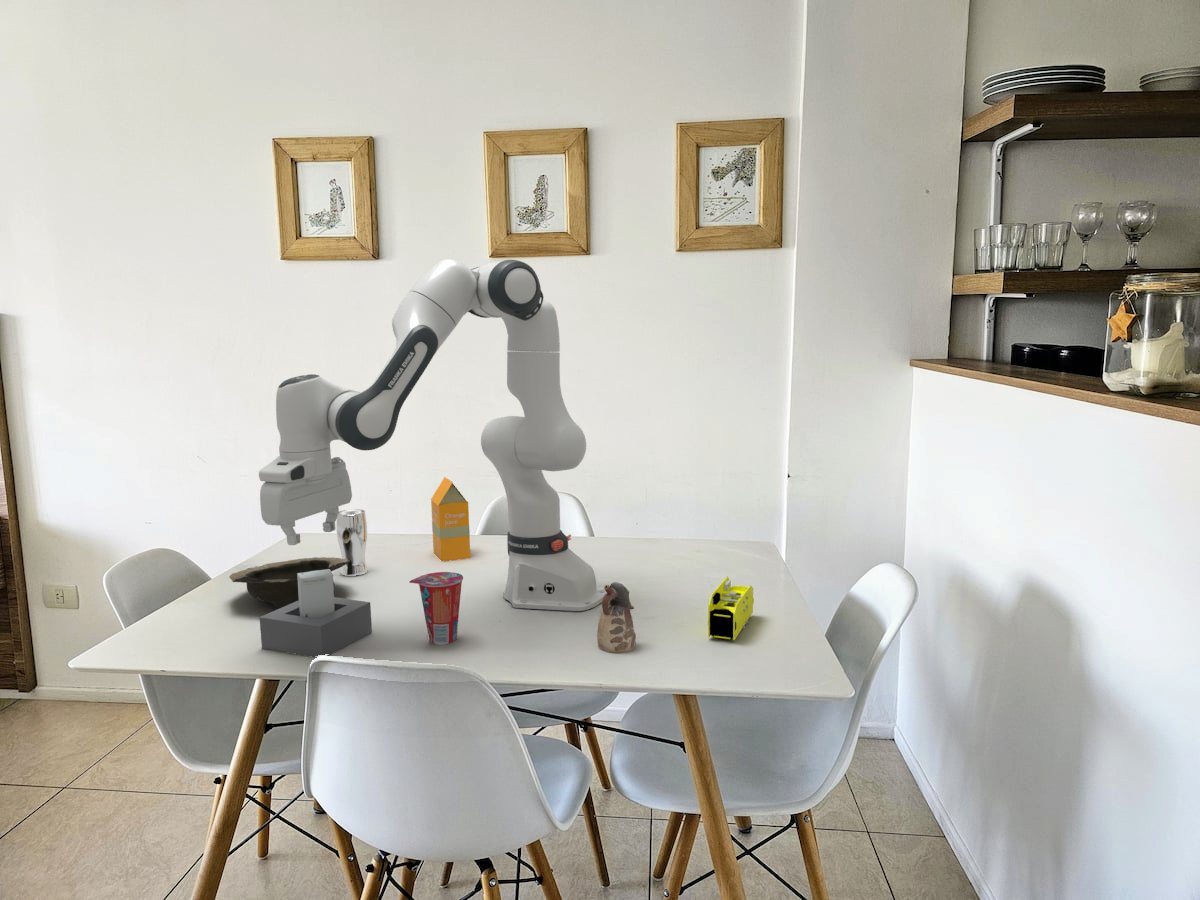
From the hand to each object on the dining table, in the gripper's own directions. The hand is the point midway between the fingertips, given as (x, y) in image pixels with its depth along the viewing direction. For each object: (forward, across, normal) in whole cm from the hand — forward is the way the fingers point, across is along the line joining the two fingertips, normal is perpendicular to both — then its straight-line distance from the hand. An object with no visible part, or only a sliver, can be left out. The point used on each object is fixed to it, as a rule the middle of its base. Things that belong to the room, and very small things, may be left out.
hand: (312, 537), depth 154 cm
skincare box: (+19, 0, 0) cm, 19 cm away
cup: (+20, -8, +22) cm, 31 cm away
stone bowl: (+20, -18, -23) cm, 35 cm away
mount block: (+20, 0, 0) cm, 20 cm away
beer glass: (+20, -38, -22) cm, 48 cm away
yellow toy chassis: (+21, -33, +71) cm, 81 cm away
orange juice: (+21, -58, -8) cm, 63 cm away
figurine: (+21, -17, +54) cm, 60 cm away
